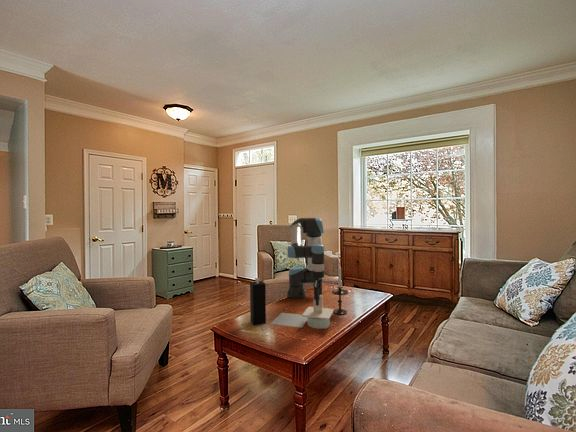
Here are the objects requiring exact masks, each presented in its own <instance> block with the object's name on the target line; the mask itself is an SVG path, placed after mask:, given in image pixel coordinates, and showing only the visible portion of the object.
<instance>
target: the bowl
mask: <svg viewBox="0 0 576 432" xmlns="http://www.w3.org/2000/svg"><path fill="white" fill-rule="evenodd" d="M330 319H331V318H330ZM330 319H329V320H328V319H319V318H310V317H307V321H306V322H307V323H306V325H308V327H310V328H312V329H325V330H326V329H328V328H329V327H330V326H331V324H330V323H331V320H330Z"/></svg>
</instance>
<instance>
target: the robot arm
mask: <svg viewBox="0 0 576 432" xmlns="http://www.w3.org/2000/svg"><path fill="white" fill-rule="evenodd" d="M289 233H290V237H291V238H290V245H289V246H287V257H288V258H289V259H307V260H308V261H307V265H306V266H305V268H304V266H293V267H291V268H289V270H288V282H289V283H288V289H287V292H286V297H287V298H288V299H292V300H299V299H305V298H306V297H307V292H306V290H305V287H304V284H312V285H313V301H314V300H315V310H317V311H320V300H319V295H323V278H324V277H325V246H324V245H323V244H321V243H320V238H321V237H322V234H324V224H323V220H322V218H320V217H300V218H297V219H295V220H294V221H293V222H292V223H291V224H290V227H289ZM303 234H306V237H307V244H308V245H303Z"/></svg>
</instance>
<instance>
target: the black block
mask: <svg viewBox="0 0 576 432" xmlns="http://www.w3.org/2000/svg"><path fill="white" fill-rule="evenodd" d="M260 279H261V277H256V278H254V280H255V281H251V282H249V295H250V296H249V297H250V303H249V304H250V305H249V306H250V307H249V308H250V311H249V312H250V322H251V324H252V326H259V325H265V324H267V309H266V306H267V304H266V303H267V302H266V287H267V285H266V283H265V282H264V281H263V280H261V281H260Z"/></svg>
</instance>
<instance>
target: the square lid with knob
mask: <svg viewBox="0 0 576 432" xmlns="http://www.w3.org/2000/svg"><path fill="white" fill-rule="evenodd" d="M323 295H324V294H322V295H319V300H320V311H317V310H315V300H314V299H313V306H308V307H307V308H306V309H305V310H304V312H303V313H302V314H301V315H302V317H310V318H319V319H328V320H329V319H331V316H332V315H333V314H334V313H333V311H334V310H335V309H334V308H327V307H324V296H323Z"/></svg>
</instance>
